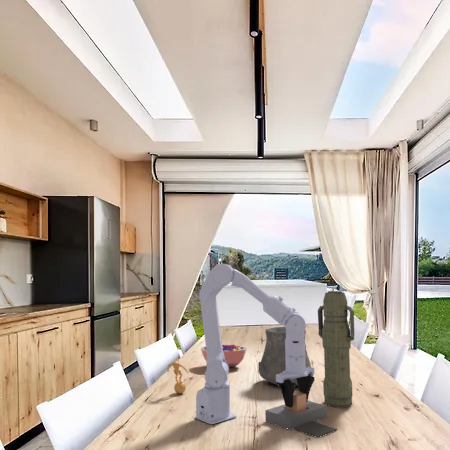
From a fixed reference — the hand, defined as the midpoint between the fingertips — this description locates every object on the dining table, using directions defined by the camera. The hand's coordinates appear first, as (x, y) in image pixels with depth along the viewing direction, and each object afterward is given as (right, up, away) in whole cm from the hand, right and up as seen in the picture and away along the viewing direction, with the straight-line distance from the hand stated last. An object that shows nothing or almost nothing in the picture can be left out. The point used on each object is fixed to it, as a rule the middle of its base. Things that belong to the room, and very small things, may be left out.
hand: (296, 404), depth 128 cm
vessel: (+3, -8, +38) cm, 38 cm away
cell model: (-21, -11, +66) cm, 70 cm away
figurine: (-36, -7, +25) cm, 45 cm away
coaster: (+4, -3, -9) cm, 10 cm away
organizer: (0, -4, 0) cm, 4 cm away
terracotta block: (0, -4, 0) cm, 4 cm away
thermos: (+15, -5, +14) cm, 21 cm away
